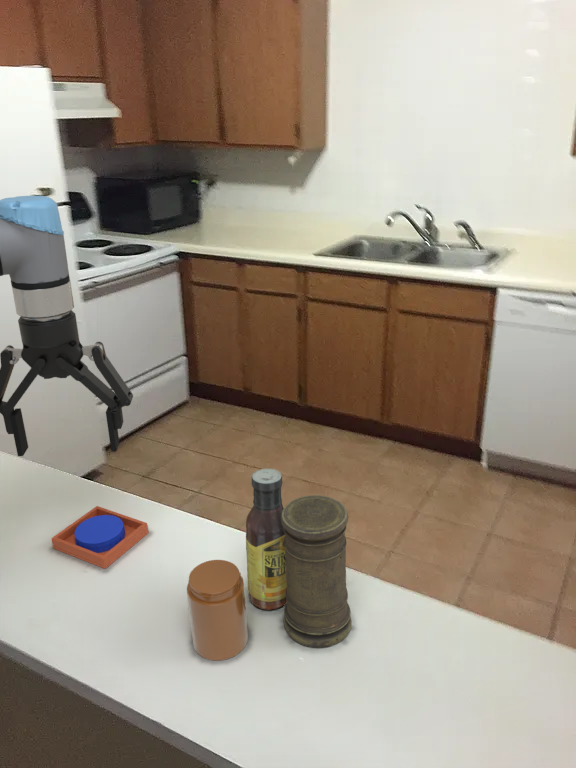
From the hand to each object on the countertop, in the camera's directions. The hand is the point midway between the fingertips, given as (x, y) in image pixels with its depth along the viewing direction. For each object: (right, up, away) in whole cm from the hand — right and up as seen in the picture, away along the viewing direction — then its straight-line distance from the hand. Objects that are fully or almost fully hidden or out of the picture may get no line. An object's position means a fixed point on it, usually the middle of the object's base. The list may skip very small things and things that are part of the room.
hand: (69, 449), depth 100 cm
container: (+37, -23, -10) cm, 44 cm away
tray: (+2, -16, +9) cm, 18 cm away
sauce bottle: (+30, -21, -5) cm, 37 cm away
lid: (+2, -14, +8) cm, 16 cm away
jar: (+24, -24, -12) cm, 36 cm away
